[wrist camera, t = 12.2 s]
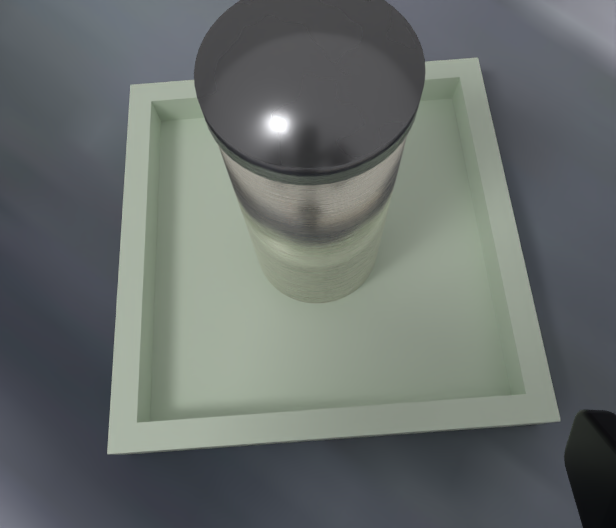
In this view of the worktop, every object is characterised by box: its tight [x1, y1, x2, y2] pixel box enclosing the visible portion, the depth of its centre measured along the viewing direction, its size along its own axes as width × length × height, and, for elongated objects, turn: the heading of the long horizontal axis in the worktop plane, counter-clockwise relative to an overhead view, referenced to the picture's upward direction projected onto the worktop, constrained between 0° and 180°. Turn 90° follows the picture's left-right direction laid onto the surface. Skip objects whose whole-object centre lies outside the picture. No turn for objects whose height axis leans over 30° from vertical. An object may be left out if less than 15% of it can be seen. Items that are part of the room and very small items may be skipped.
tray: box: [107, 58, 561, 454], centre depth 22 cm, size 16×16×2 cm
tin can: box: [194, 0, 426, 303], centre depth 17 cm, size 5×5×11 cm
